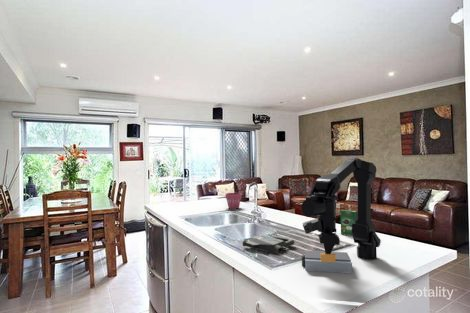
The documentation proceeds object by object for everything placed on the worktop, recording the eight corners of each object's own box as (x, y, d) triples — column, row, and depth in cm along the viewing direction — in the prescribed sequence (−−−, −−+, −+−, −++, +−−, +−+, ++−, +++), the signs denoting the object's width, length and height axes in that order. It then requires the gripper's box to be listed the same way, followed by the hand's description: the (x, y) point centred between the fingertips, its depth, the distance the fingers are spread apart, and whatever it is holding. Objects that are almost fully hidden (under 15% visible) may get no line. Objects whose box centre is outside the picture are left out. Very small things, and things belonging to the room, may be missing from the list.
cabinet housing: (347, 265, 104) (347, 252, 104) (351, 274, 96) (350, 260, 96) (301, 262, 108) (301, 250, 108) (302, 270, 100) (301, 257, 100)
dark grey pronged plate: (281, 257, 114) (281, 245, 114) (241, 249, 126) (241, 238, 126) (295, 247, 128) (295, 236, 128) (257, 240, 139) (257, 230, 139)
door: (351, 273, 96) (351, 254, 94) (351, 274, 95) (352, 256, 93) (305, 269, 99) (304, 251, 97) (305, 271, 99) (304, 253, 97)
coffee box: (357, 234, 144) (356, 210, 144) (357, 236, 141) (356, 211, 141) (341, 233, 148) (340, 209, 148) (340, 234, 145) (340, 210, 145)
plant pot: (245, 208, 230) (244, 193, 231) (231, 210, 223) (230, 195, 223) (236, 206, 243) (235, 192, 243) (222, 208, 235) (222, 193, 235)
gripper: (303, 207, 107) (304, 246, 107) (303, 218, 89) (304, 264, 89) (333, 208, 104) (333, 248, 104) (339, 219, 86) (340, 267, 86)
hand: (327, 256), depth 96 cm, fingers closed, pressing on door
